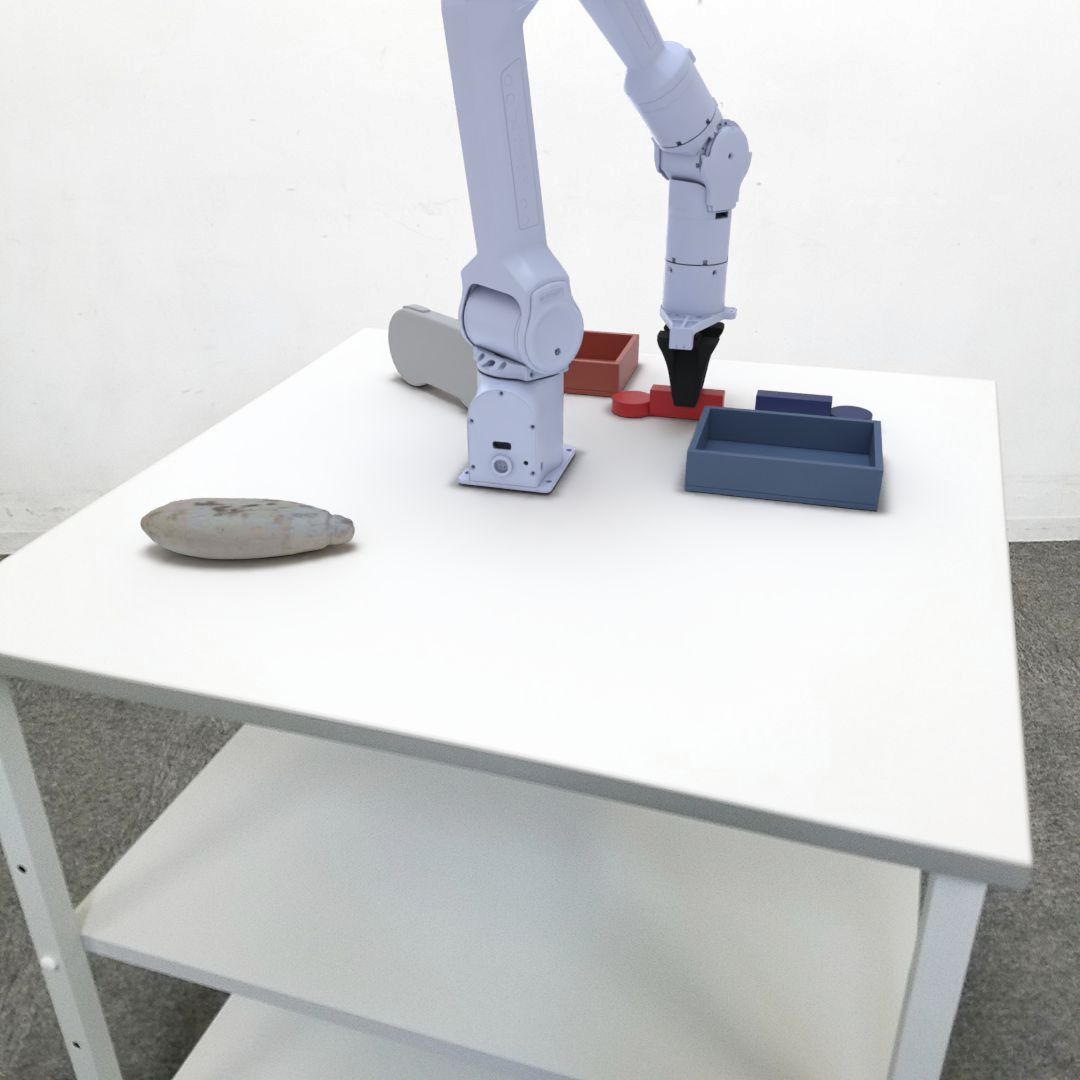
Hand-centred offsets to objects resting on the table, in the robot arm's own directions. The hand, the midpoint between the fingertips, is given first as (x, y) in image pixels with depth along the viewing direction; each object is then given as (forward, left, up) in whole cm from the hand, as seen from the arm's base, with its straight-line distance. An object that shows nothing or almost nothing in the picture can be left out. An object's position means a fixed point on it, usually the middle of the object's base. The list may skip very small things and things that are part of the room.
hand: (686, 401), depth 100 cm
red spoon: (0, +2, -1) cm, 2 cm away
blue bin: (-12, -10, -1) cm, 16 cm away
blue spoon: (+1, -12, -1) cm, 12 cm away
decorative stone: (-36, +27, -2) cm, 45 cm away
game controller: (-1, +24, -2) cm, 24 cm away
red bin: (+9, +15, -1) cm, 18 cm away
